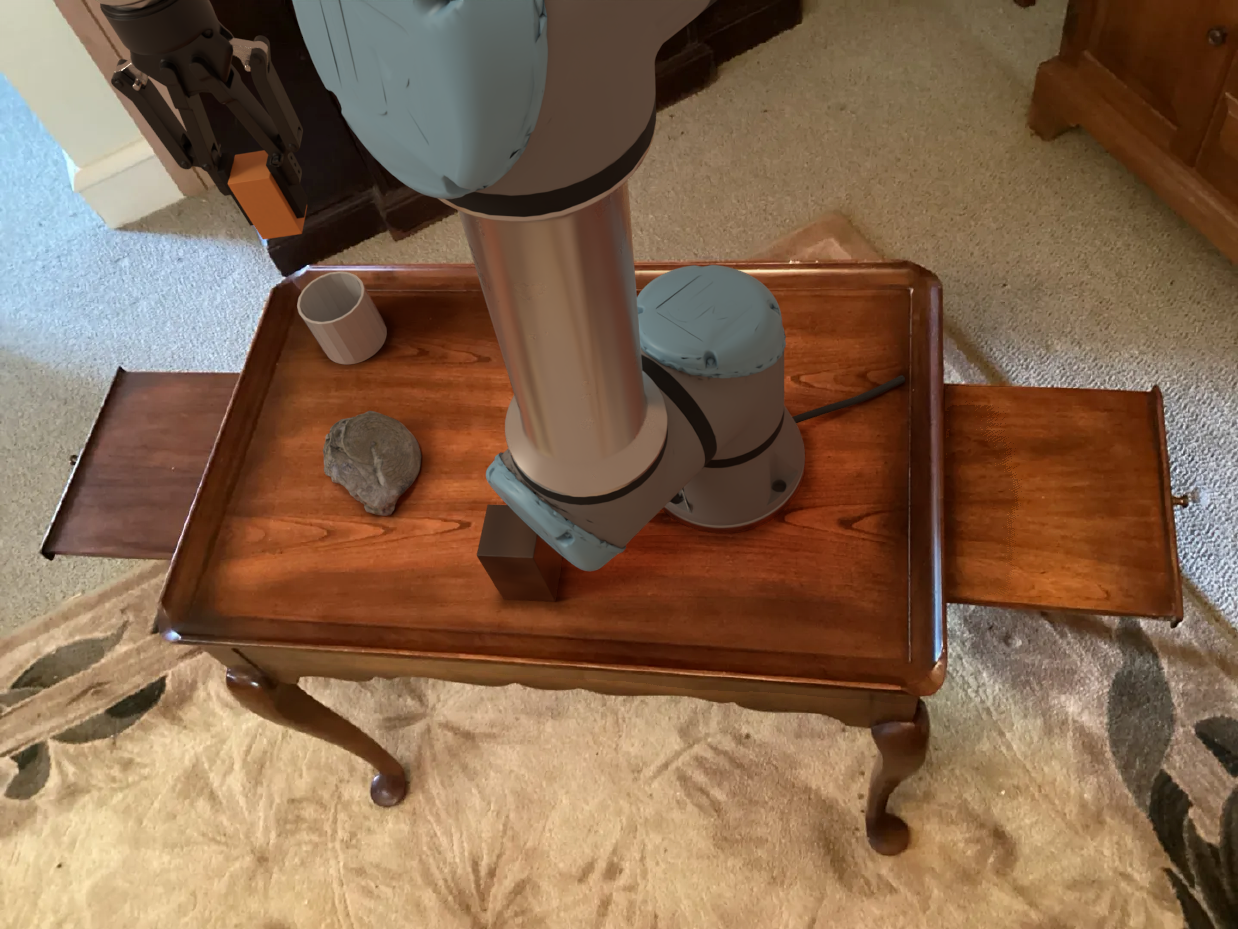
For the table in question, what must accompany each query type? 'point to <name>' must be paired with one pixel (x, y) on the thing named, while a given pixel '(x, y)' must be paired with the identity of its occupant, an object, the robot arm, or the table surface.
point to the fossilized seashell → (372, 459)
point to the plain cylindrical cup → (342, 317)
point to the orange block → (262, 197)
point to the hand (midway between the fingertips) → (279, 211)
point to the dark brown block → (517, 557)
